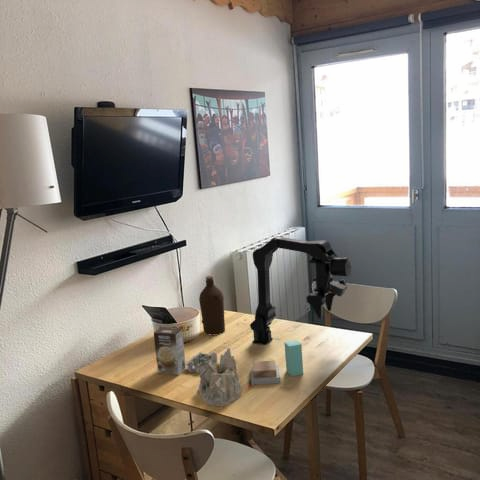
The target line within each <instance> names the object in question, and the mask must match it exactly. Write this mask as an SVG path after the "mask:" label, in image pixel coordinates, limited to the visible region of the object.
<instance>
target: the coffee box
mask: <svg viewBox="0 0 480 480" xmlns="http://www.w3.org/2000/svg"><path fill="white" fill-rule="evenodd" d="M153 339H154V348H155V357H156V367H157V374H161V373H163V374H164V375H171V374H173V375H174V376H180V375H181V374H182V373H183V372H184V371H185V370H186V369H187V366H186V357H185V348H184V347H185V346H184V337H183V328H181V327H171V326H170V327H168V326H160V327H159V328H158V329H156V330H155V331H154V332H153ZM185 368H186V369H185Z"/></svg>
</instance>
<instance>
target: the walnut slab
mask: <svg viewBox="0 0 480 480" xmlns="http://www.w3.org/2000/svg"><path fill="white" fill-rule="evenodd" d="M276 365H277V364H276V360H275V359H273V360H260V361H259V360H258V361H252V367H253V378H264V377H277V373H276Z"/></svg>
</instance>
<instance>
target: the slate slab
mask: <svg viewBox="0 0 480 480" xmlns="http://www.w3.org/2000/svg"><path fill="white" fill-rule="evenodd" d="M276 373H277V377H264V378H253V366H251V367H250V382H251V383H250V384H251V386H253V385H264V384H275V383H276V384H277V383H281V382H282V381H281V373H280V367H279V365H278V364H276Z"/></svg>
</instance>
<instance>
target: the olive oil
mask: <svg viewBox="0 0 480 480" xmlns="http://www.w3.org/2000/svg"><path fill="white" fill-rule="evenodd" d="M205 284H206V285H205V286H204V288H203V289H202V290H201V292H200V293H199V298H198V301H199V307H200V313H201V314H200V315H201V324H202V327H203V333H204V332H205V333H206V334H205V333H204V334H205V335H207V334H211V335H210V336H214V335H213V334H218V335H221V334H223V333H225V331H226V324H225V322H226V321H225V306H224V305H225V303H224V301H225V300H224V299H225V298H224V295H223V292H222V290H221V289H220V288H218V287H217V286H216V285H215V283H214V276H213V275H208V276H205ZM220 333H221V334H220Z"/></svg>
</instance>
